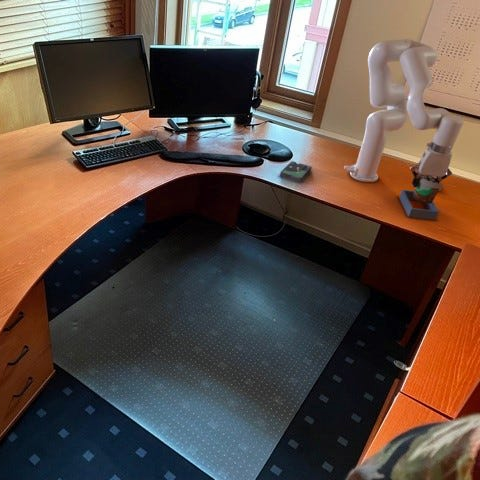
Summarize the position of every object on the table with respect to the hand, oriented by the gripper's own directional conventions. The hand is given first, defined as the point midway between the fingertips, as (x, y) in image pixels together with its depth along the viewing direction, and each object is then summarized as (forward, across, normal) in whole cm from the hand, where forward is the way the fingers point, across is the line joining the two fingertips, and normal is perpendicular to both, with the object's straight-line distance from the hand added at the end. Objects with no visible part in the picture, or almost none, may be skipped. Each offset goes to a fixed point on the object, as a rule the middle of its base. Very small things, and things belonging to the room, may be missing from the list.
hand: (423, 186), depth 194 cm
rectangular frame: (+10, 0, -1) cm, 10 cm away
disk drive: (+11, -49, +19) cm, 54 cm away
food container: (+6, 0, 0) cm, 6 cm away
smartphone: (+11, +12, +25) cm, 30 cm away
